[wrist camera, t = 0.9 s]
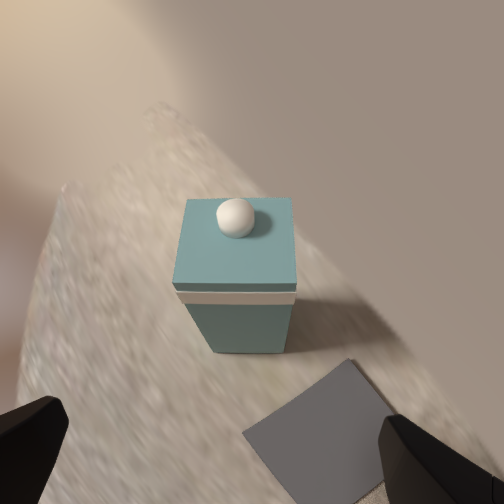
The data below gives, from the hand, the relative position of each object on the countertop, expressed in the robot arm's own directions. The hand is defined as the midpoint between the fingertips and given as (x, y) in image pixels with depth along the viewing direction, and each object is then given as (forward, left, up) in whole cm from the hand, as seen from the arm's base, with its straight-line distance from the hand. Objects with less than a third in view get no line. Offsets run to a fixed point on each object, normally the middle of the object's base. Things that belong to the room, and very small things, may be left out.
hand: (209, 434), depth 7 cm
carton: (+8, -1, -14) cm, 16 cm away
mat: (-2, -6, -14) cm, 15 cm away
